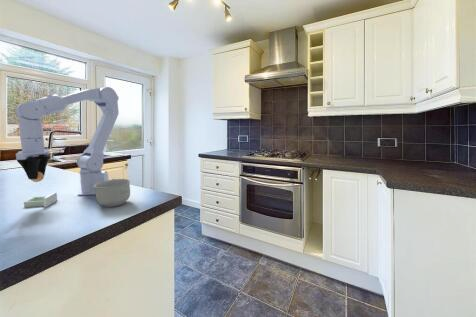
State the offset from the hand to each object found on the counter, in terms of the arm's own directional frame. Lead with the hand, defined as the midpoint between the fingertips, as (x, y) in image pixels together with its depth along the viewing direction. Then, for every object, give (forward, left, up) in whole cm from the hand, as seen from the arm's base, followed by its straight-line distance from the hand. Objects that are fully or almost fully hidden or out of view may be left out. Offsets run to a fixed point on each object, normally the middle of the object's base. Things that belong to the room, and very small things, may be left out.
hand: (36, 177), depth 76 cm
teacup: (-25, +5, -10) cm, 27 cm away
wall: (-4, +1, -9) cm, 10 cm away
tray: (0, 0, -9) cm, 9 cm away
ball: (0, 0, 0) cm, 0 cm away
